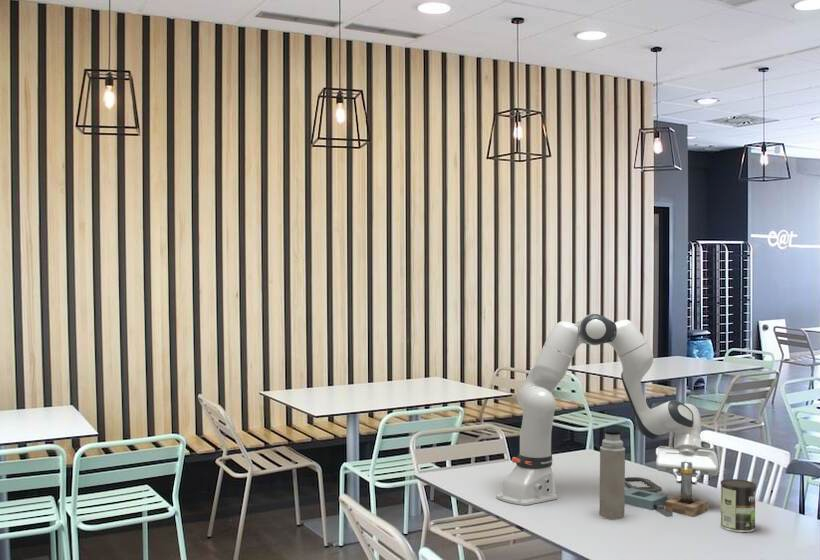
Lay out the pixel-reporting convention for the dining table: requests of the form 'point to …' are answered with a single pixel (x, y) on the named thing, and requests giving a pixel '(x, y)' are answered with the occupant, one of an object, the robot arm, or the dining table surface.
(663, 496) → the teal flat box
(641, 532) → the dining table surface
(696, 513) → the socket block
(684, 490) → the gray gold-collared cylinder
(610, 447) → the thermos bottle
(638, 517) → the dining table surface
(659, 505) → the drift key
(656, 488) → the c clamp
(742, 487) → the coffee can
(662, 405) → the robot arm
